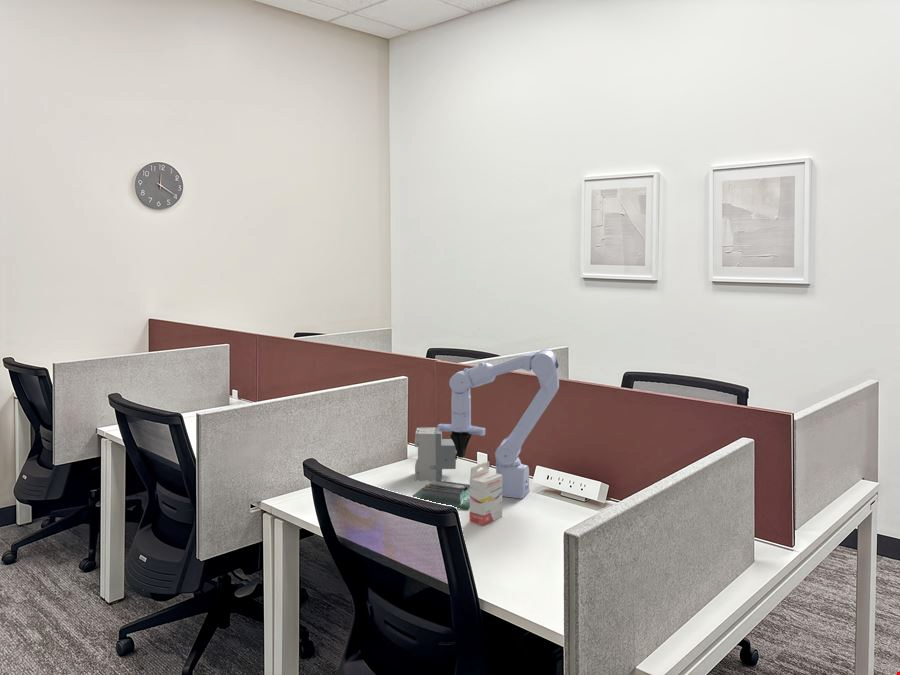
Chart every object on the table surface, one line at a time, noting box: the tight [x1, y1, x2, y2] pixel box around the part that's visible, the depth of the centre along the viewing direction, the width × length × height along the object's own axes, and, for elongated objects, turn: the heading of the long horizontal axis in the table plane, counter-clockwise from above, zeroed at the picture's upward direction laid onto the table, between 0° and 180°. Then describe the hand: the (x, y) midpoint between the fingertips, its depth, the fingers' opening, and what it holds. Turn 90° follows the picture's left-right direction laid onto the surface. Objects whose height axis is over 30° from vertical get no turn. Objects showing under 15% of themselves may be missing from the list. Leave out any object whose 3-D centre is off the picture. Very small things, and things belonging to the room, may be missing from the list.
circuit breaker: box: [414, 427, 458, 482], centre depth 221 cm, size 8×14×15 cm, turn 89°
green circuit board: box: [411, 480, 470, 511], centre depth 202 cm, size 18×13×4 cm
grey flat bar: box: [428, 481, 466, 490], centre depth 201 cm, size 10×3×1 cm, turn 68°
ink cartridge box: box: [469, 461, 503, 527], centre depth 185 cm, size 9×5×15 cm, turn 141°
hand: (461, 456), depth 209 cm, fingers closed
